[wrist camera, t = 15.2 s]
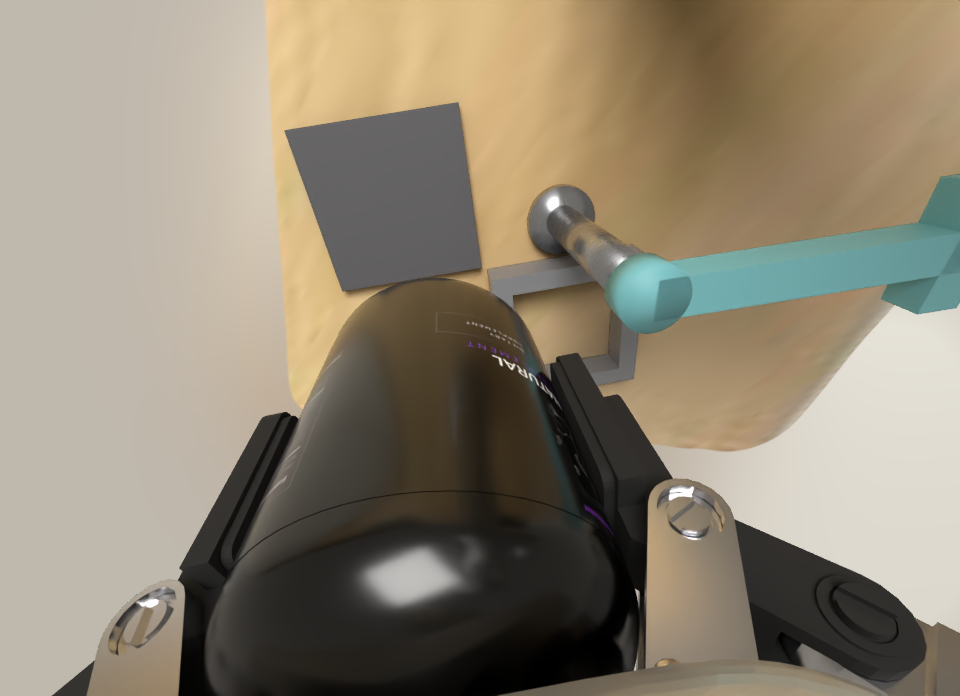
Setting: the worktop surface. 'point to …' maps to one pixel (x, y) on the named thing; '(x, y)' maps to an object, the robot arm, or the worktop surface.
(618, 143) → the worktop surface
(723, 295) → the latch bar
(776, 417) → the worktop surface
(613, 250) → the latch post
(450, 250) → the rubber mat
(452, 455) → the supplement bottle
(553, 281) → the bottle holder
